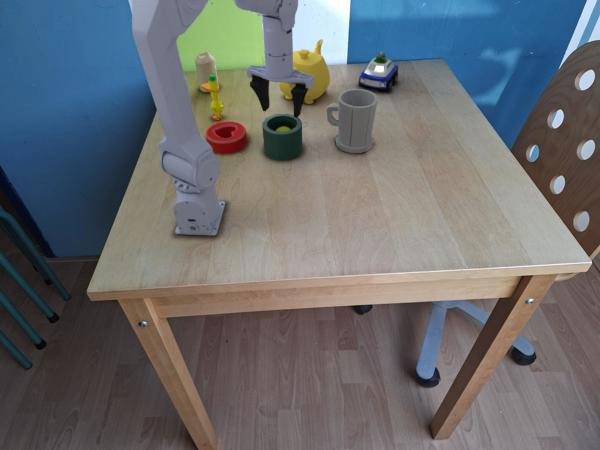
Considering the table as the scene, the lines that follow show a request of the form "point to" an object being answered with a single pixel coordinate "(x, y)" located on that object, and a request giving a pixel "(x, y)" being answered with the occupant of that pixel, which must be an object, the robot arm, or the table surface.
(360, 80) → the toy car
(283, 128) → the ball
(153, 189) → the table surface
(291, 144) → the jar
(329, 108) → the cup
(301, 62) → the teapot
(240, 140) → the decorative ornament
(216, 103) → the toy figure
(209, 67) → the candle
